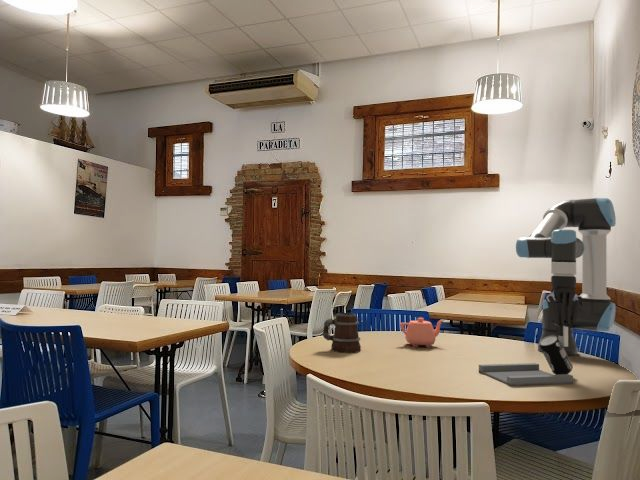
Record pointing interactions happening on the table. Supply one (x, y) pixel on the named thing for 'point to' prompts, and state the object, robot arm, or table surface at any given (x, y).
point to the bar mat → (523, 374)
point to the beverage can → (555, 355)
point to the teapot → (420, 332)
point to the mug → (343, 333)
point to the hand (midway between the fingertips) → (563, 345)
